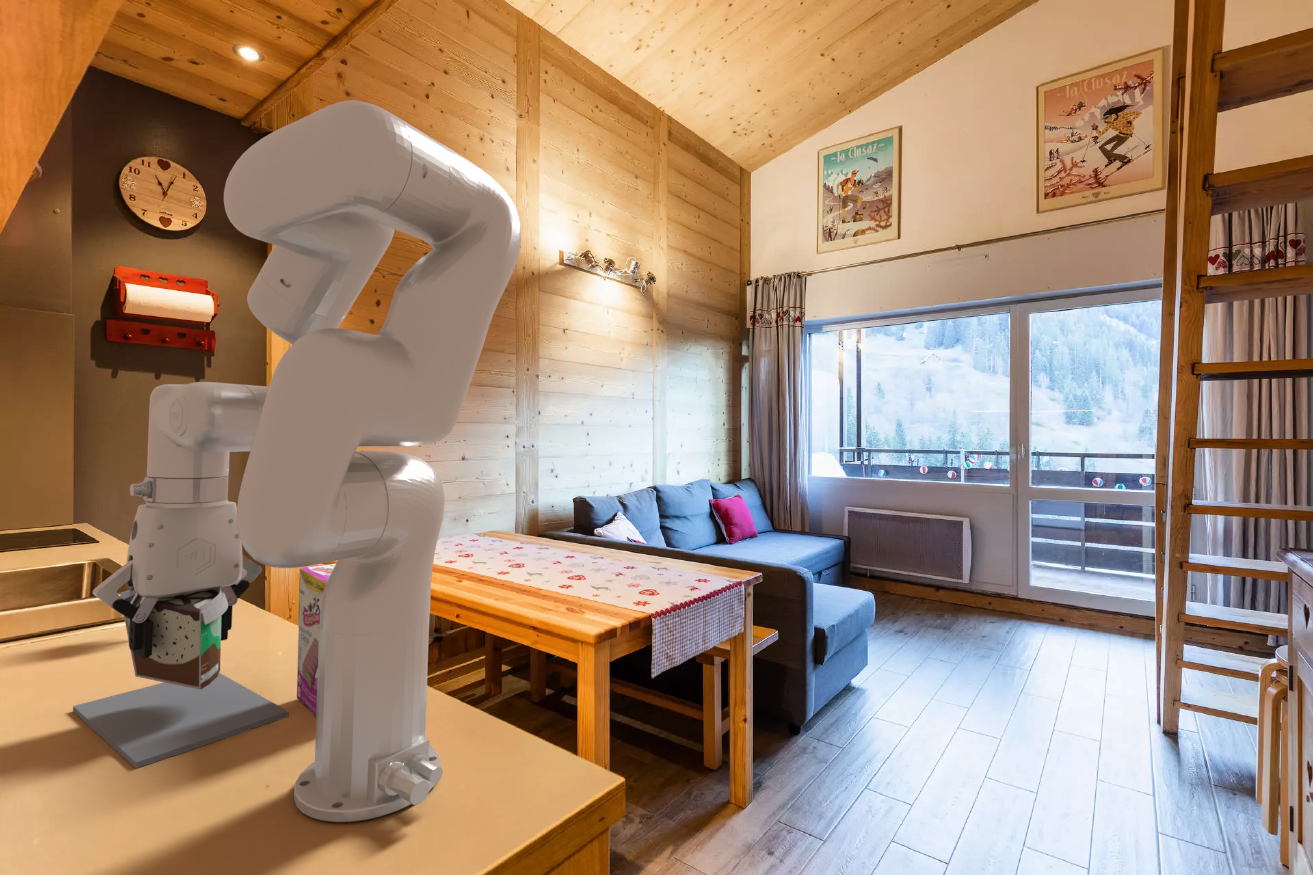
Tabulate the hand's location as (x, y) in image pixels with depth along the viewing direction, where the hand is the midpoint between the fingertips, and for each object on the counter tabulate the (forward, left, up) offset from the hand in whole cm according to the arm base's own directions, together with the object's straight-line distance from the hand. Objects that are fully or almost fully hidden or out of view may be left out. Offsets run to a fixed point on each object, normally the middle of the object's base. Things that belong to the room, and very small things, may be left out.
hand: (182, 644), depth 71 cm
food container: (+1, -1, -4) cm, 4 cm away
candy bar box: (-12, -11, -8) cm, 18 cm away
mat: (0, 0, -8) cm, 8 cm away
